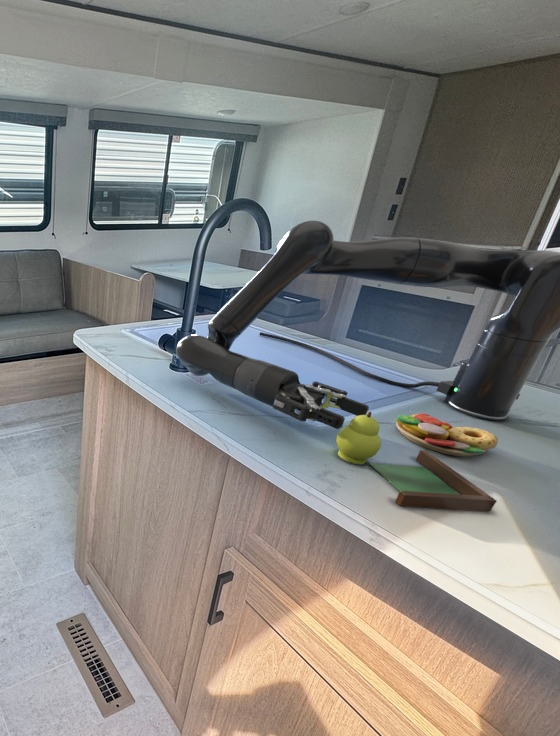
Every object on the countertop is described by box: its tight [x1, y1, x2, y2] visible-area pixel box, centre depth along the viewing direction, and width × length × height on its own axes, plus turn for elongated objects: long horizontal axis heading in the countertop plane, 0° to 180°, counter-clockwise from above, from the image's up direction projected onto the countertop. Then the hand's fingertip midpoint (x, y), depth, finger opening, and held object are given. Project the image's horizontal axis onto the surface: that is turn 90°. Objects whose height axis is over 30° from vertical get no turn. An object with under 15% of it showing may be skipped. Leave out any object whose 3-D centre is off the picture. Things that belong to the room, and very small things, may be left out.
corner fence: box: [369, 449, 498, 512], centre depth 67 cm, size 13×13×2 cm
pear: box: [335, 411, 382, 465], centre depth 71 cm, size 6×6×9 cm
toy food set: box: [395, 413, 499, 457], centre depth 79 cm, size 13×13×3 cm
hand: (354, 417), depth 71 cm, fingers open, 8 cm apart
